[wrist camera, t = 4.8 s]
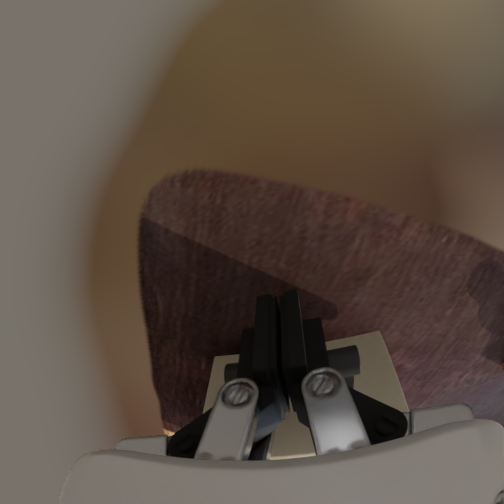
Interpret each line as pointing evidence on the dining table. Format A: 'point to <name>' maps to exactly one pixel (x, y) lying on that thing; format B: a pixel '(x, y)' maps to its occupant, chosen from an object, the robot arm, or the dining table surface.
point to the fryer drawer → (340, 358)
